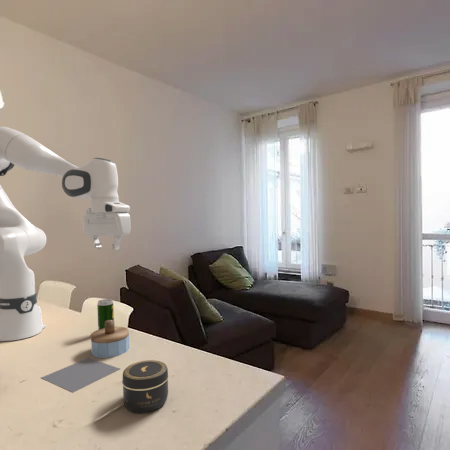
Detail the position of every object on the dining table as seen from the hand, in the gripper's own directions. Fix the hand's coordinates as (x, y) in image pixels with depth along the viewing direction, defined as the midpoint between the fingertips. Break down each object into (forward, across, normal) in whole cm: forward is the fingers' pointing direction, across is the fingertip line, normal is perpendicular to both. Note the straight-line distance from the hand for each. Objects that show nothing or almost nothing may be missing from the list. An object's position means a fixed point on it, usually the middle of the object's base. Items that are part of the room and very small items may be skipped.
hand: (106, 249), depth 113 cm
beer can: (+31, -7, +4) cm, 32 cm away
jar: (+31, +38, -20) cm, 53 cm away
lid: (+26, +8, -6) cm, 28 cm away
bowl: (+31, +8, -6) cm, 33 cm away
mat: (+31, +14, -20) cm, 40 cm away
